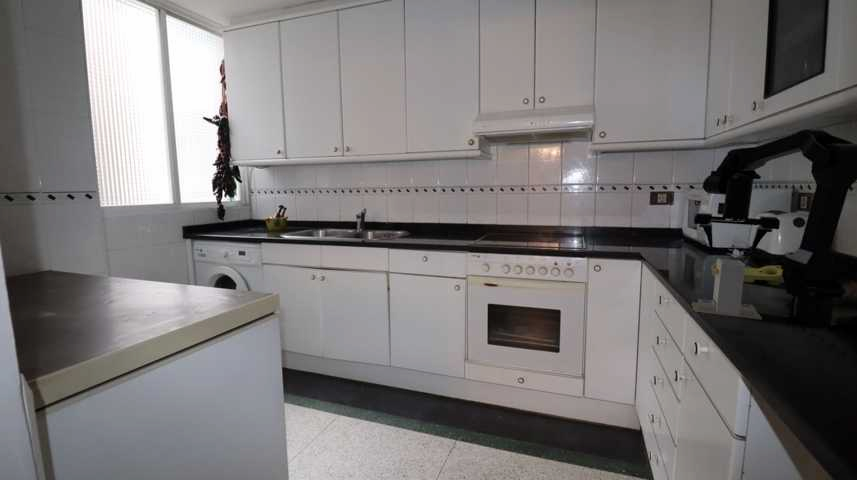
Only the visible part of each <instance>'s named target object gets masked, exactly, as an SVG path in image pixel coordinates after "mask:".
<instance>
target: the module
mask: <svg viewBox="0 0 857 480" xmlns="http://www.w3.org/2000/svg"><path fill="white" fill-rule="evenodd" d="M716 261H717V265H716V268H714V274H716V275H715V277H714V287H713V297H712V301H716V303H717V306H716V312H721V313H729V314H737V315H740V307H741V304H742V297H743V296H742V295H743V288H744V282H743V281H744V272H745V267H746V264H745V263H743V262H742V261H741V260H739V259H729V258H728V259H727V258H722V259H718V258H717V259H716Z"/></svg>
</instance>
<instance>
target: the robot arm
mask: <svg viewBox="0 0 857 480" xmlns="http://www.w3.org/2000/svg"><path fill="white" fill-rule="evenodd" d="M796 153H802V156H803V157H804V158H805V159H807V160H808V161H810V162H811V175H812V178H813V180H814V182H815V184H816V187H815V191H814V195H813V198H812V201H811V206H810V209H809V212H808V217H807V220H806V224H805V228H804V230H803V234H802V238H801V242H800V244H799V247H798V249H797V250H795V251H794V252H786V253H785V254H784V257H783V263H782V267H781V268H780V269H783V271H782V277H783V278H782V279H783V282H784V288H785V293H786V294H787V295H791V298H790V302H789V309H788V310H789V311H788V315H784V316H783V318H784V319H787V320H790V321H792V322H795V323H799V324H802V325H804V326H807V327H811V328H821V327H824V328H825V327H837V326H838V323H837V322H833V321H832V319H833V312H834V305H835V304H834V303H835V299H842V298H843V297H844V295H845V294H846V292H847V291H846V288H845V287H844V286H843V285H842V283H841V282H840V281H839V280H838V279H837V277H836V275H835V269H836V268H835V267H836V263H835V262H834V258H833V256H832V255H831V248H832V245H833V242H834V237H835V234H836V232H837V228H838V225H839V221H840V219H841V215H842V212H843V208H844V205H845V201H846V197H847V195H848V191H849V189H850V187H851V186H852V185H853V184H855V182H856V181H857V143H854V142H852V141H849V140H847V139H844V138H842V137H838V136H836V135H832V134H831V133H829V132H827V131H825V130H824V129H813V128H812V129H811V128H810V129H806V128H805V129H802V130H799V131H797V132H796V133H792V134H790V135H787V136H784V137H781V138H779V139H776V140H772V141H769V142H766V143H764V144H761V145H758V146H753V147H752V146H751V147H740V148H734V149H731V150H729V151H728V152H727V154H726V156H724V158H723V160H722V161H721V162H720V164H719V166H718V167H717V168H716V170H711V171H710V174H709V175H708V176H706V178H704V181H703V183H702V187H703V188H702V189H703V191H704V192H706V193H707V194H710V195H711V194H713V195H723V196H724V195H725V197H724V202H718V206H717V215H722V216H715V215H713V213H703V212H698V213H696V214H695V215H694V219H693V224H695V225H698V227H699V228H702V229H703V231H704V233H705V236H706V238H707V242H708V247H709V250H713V244H714V243H713V223H715V224H717V223H718V224H729V225H730V224H731V225H732V224H733V225H745V226H747V225H748V226H757V227H756V231H755V235H754V237H753V240H752V243H751V249H750V254H753V253H754V252H755V250H756V249H757V247H758V245H759V243H760V242H761V240H762V239H763V238H764V236H766V234H767V233H772V232H773V230H780V227H781V223H780V222H781V220H780V219H779V218H778V217H777V216H765V215H764V216H761V215H760V216H759V218H750V208H751V201H752V193H753V187H754V186H753V185H754V180H761V179H762V176H761V175H760V174H759V173H757V172H756V170H757V169H760V168H762V167H764V166H765V165H766V164H767V163H768V162H770V161H772V160H776V159H779V158H783V157H786V156H790V155H793V154H796Z"/></svg>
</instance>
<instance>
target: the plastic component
mask: <svg viewBox="0 0 857 480" xmlns="http://www.w3.org/2000/svg"><path fill="white" fill-rule="evenodd" d="M717 259H723V258H722V257H719V258H717ZM716 265H717V260H716V261H715V262H714V264H713V265H712V266H711V268H710V269H711V273H712V274H711V275H712V276H713V278H715V275H716V274H714V268H716ZM781 267H782V266H781V265H765V266H763V267H762V266H761V267H760V268H757V267H746V266H745V272H744V281H743V283H755V281H756V280H758V281H759V280H760V281H766V284H768V285H769V284H770V285H769V286H774V285H776V286H780V284H781V283H782V279H783V277H782V271H783V269H780V268H781Z"/></svg>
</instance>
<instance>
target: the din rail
mask: <svg viewBox="0 0 857 480" xmlns="http://www.w3.org/2000/svg"><path fill="white" fill-rule="evenodd" d="M691 305H692V307H693V310H694V312H696V313H705V314H713V315H720V316H721V315H722V316H727V317H737V318H742V319H743V318H745V319H752V320H762V319H763V317H762V316H761V315H760V314H759V312H758V311H757V310H756V307H755V306H754V305H753V304H748V303H747V304H745V303H741V307H740V315H737V314H729V313H721V312H716V306H717V303H716V301H713V300H709V299H701V298H698V299H697V302H695V301H694V302H693V301H692V302H691Z"/></svg>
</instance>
